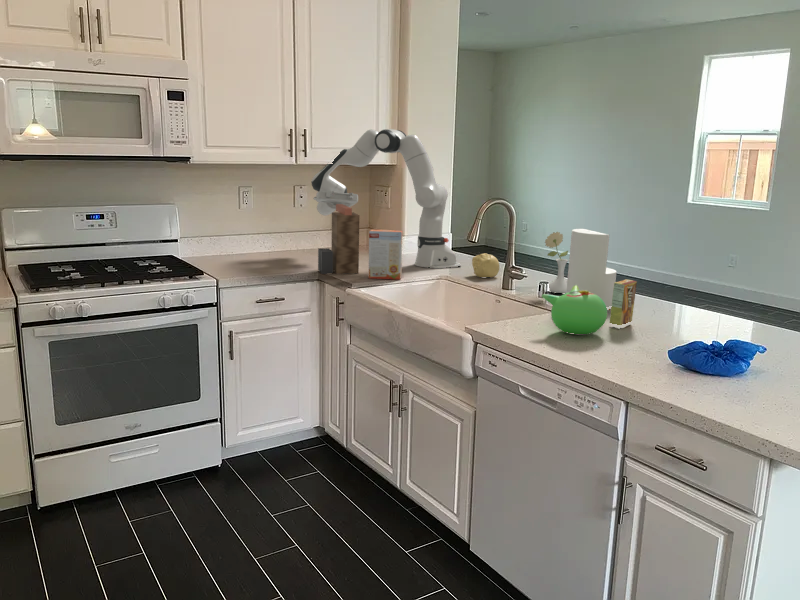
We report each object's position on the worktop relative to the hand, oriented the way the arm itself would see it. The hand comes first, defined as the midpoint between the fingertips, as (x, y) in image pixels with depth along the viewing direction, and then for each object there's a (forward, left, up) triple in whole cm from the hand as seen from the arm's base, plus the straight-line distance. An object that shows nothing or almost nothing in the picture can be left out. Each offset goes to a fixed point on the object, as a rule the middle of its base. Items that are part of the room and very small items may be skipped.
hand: (342, 193), depth 316 cm
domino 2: (+11, +20, -34) cm, 40 cm away
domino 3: (+11, +23, -34) cm, 42 cm away
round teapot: (-49, +132, -34) cm, 145 cm away
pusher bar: (+2, +15, -8) cm, 17 cm away
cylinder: (-75, +98, -34) cm, 128 cm away
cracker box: (-12, +37, -34) cm, 51 cm away
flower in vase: (-74, +76, -34) cm, 111 cm away
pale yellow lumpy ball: (-58, +40, -34) cm, 78 cm away
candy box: (-69, +127, -34) cm, 148 cm away
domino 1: (+11, +16, -34) cm, 39 cm away
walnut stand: (+2, +19, -34) cm, 39 cm away
